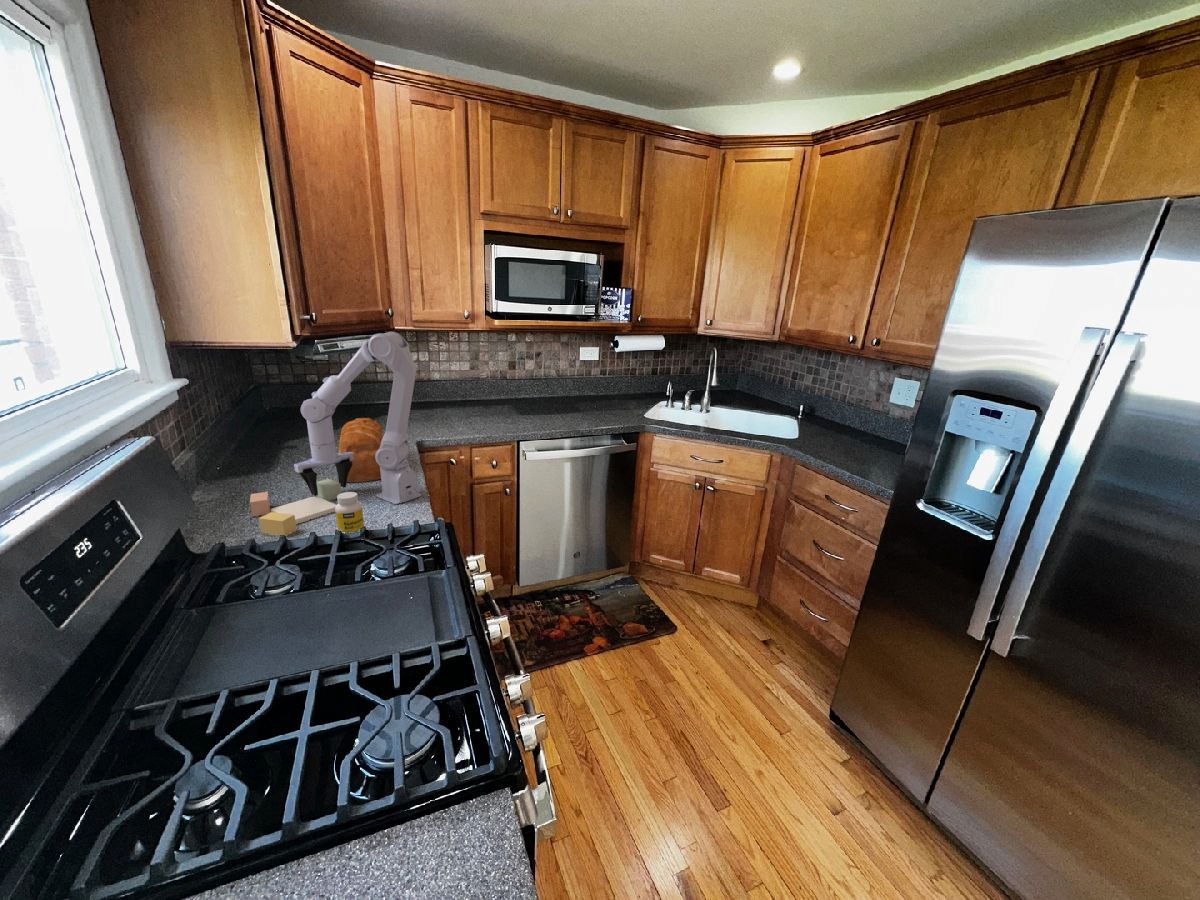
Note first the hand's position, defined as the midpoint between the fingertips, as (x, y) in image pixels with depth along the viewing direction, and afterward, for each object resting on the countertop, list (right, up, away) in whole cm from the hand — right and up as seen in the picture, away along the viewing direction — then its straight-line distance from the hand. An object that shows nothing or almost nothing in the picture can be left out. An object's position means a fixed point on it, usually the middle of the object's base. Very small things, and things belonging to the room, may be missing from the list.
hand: (329, 490), depth 128 cm
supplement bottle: (+17, -9, -20) cm, 28 cm away
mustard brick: (0, -8, -20) cm, 22 cm away
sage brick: (0, -2, +1) cm, 2 cm away
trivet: (0, -5, -10) cm, 11 cm away
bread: (-1, +5, +23) cm, 23 cm away
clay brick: (-11, -4, -10) cm, 16 cm away
